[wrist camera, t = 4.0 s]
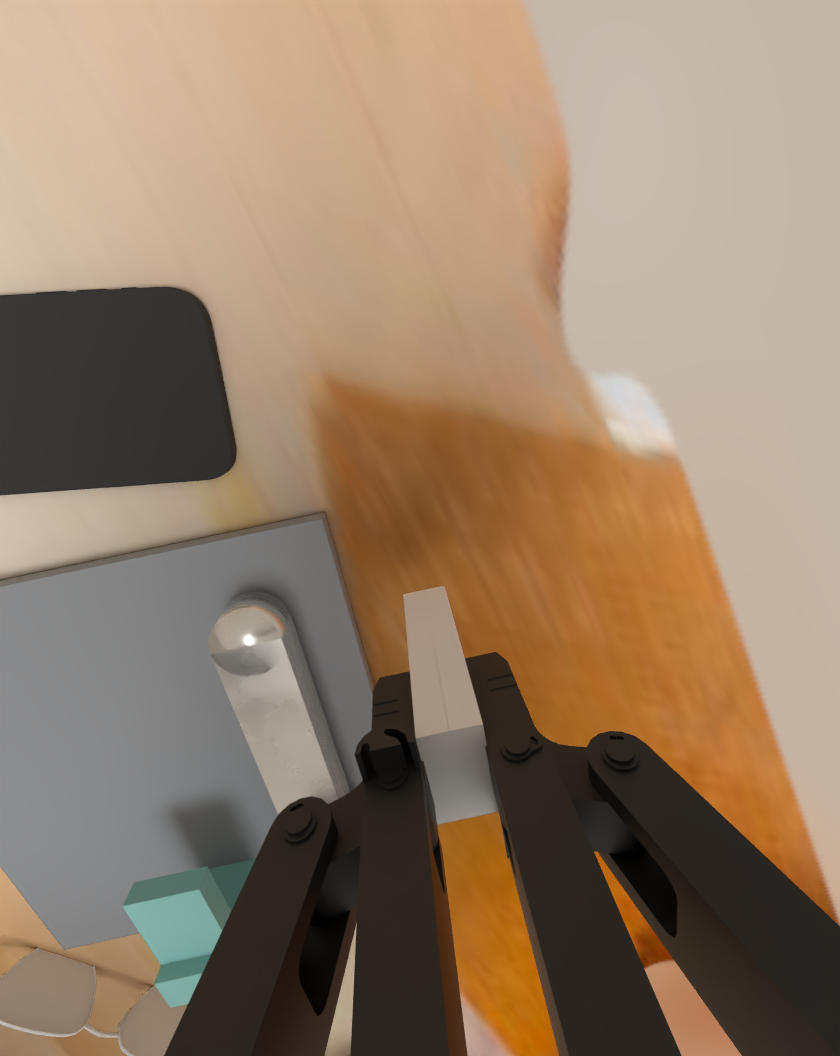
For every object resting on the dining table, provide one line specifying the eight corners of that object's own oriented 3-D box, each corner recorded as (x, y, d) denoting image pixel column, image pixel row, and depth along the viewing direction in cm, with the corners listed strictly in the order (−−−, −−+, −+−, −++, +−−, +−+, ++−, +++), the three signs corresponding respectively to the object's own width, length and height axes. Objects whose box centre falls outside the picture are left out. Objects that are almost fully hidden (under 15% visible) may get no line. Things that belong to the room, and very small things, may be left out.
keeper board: (74, 930, 28) (-4, 1072, 22) (-159, 613, 20) (-371, 709, 14) (420, 853, 28) (430, 974, 22) (324, 512, 20) (302, 566, 15)
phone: (-235, 306, 16) (198, 282, 16) (-206, 308, 17) (207, 286, 17) (-134, 506, 18) (238, 479, 19) (-113, 500, 19) (244, 474, 20)
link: (379, 838, 26) (379, 944, 21) (303, 855, 26) (286, 965, 21) (296, 581, 20) (270, 646, 15) (198, 602, 20) (142, 674, 15)
